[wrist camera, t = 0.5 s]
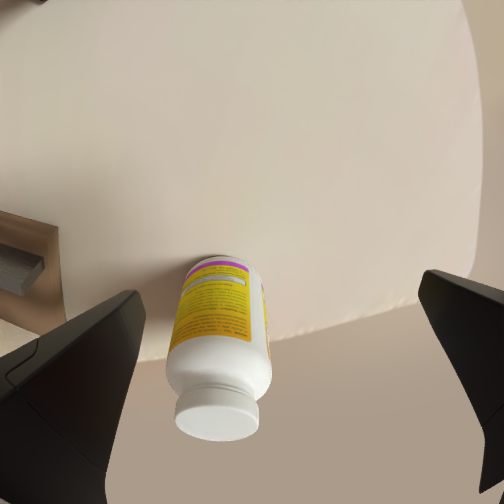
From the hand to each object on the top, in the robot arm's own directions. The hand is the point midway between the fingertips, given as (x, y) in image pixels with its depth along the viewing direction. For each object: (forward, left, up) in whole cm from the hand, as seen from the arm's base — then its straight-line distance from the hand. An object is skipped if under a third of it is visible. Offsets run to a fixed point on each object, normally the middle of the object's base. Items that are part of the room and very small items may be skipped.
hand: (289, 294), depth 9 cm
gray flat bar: (-14, -19, -12) cm, 26 cm away
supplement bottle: (+5, -9, -14) cm, 17 cm away
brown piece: (-12, -23, -14) cm, 29 cm away
